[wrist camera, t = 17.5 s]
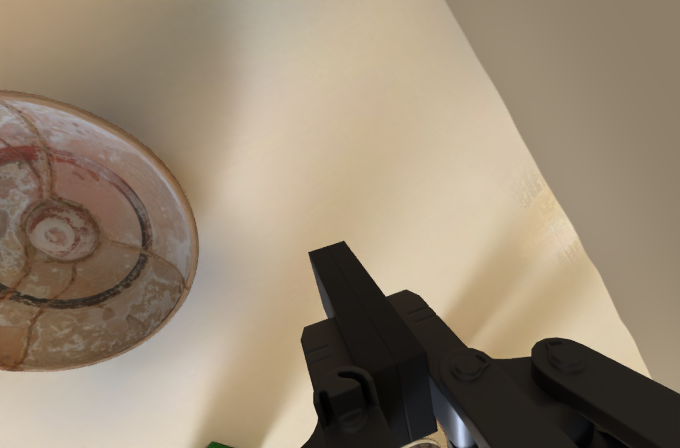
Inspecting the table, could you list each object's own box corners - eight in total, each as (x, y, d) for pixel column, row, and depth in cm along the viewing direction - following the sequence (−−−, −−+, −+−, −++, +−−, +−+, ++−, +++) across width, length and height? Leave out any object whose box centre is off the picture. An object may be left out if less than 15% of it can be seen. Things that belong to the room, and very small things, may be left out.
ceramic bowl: (-186, 248, 26) (-274, 279, 22) (9, 21, 25) (-41, 4, 20) (102, 374, 36) (83, 414, 32) (252, 216, 35) (255, 234, 30)
